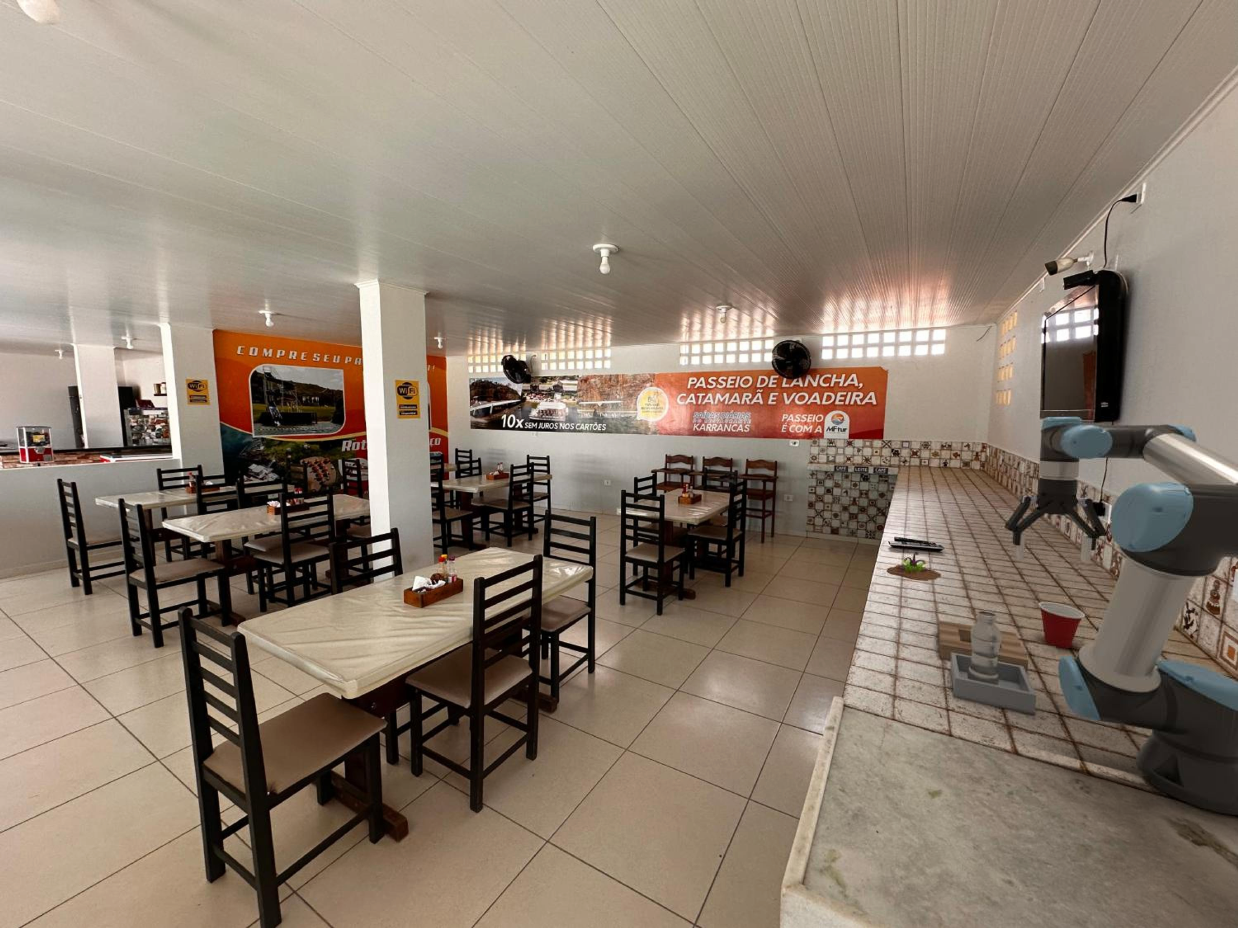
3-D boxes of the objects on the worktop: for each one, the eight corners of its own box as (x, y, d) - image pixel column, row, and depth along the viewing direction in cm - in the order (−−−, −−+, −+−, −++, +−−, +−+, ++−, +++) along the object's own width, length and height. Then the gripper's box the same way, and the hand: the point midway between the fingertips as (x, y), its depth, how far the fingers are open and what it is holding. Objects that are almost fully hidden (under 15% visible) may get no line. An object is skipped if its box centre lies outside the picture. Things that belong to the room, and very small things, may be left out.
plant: (948, 578, 220) (950, 554, 218) (925, 587, 209) (927, 561, 208) (902, 567, 236) (904, 544, 235) (879, 574, 226) (880, 550, 225)
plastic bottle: (963, 679, 134) (967, 607, 132) (993, 683, 132) (998, 610, 130) (970, 691, 128) (975, 616, 126) (1002, 696, 126) (1007, 620, 124)
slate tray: (1034, 715, 119) (1036, 695, 118) (954, 696, 127) (955, 677, 126) (1022, 684, 132) (1023, 666, 132) (950, 669, 140) (951, 652, 140)
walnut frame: (1027, 675, 136) (1028, 660, 136) (940, 658, 147) (941, 643, 146) (1014, 646, 154) (1015, 632, 153) (937, 633, 164) (938, 619, 163)
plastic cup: (1078, 657, 147) (1081, 617, 146) (1032, 644, 155) (1034, 607, 154) (1085, 646, 154) (1088, 608, 153) (1040, 634, 162) (1042, 599, 161)
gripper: (1112, 477, 125) (1105, 560, 127) (993, 474, 133) (988, 552, 135) (1130, 481, 118) (1123, 568, 120) (1004, 478, 126) (999, 559, 128)
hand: (1051, 560), depth 127 cm, fingers open, 13 cm apart
